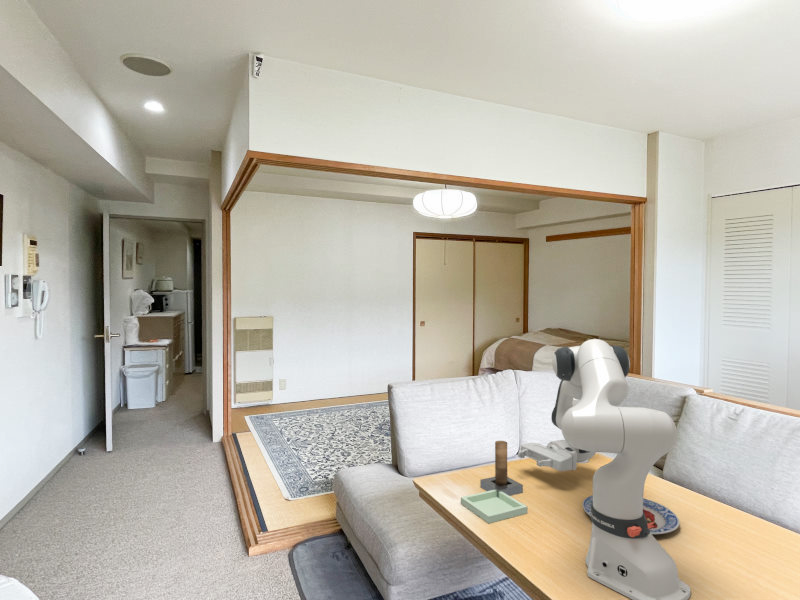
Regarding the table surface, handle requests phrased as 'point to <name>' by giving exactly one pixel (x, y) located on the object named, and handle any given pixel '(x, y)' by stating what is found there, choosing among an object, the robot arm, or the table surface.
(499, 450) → the dowel
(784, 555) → the table surface
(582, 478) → the table surface
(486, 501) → the tray
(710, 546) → the table surface
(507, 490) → the socket block
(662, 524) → the ceramic plate
